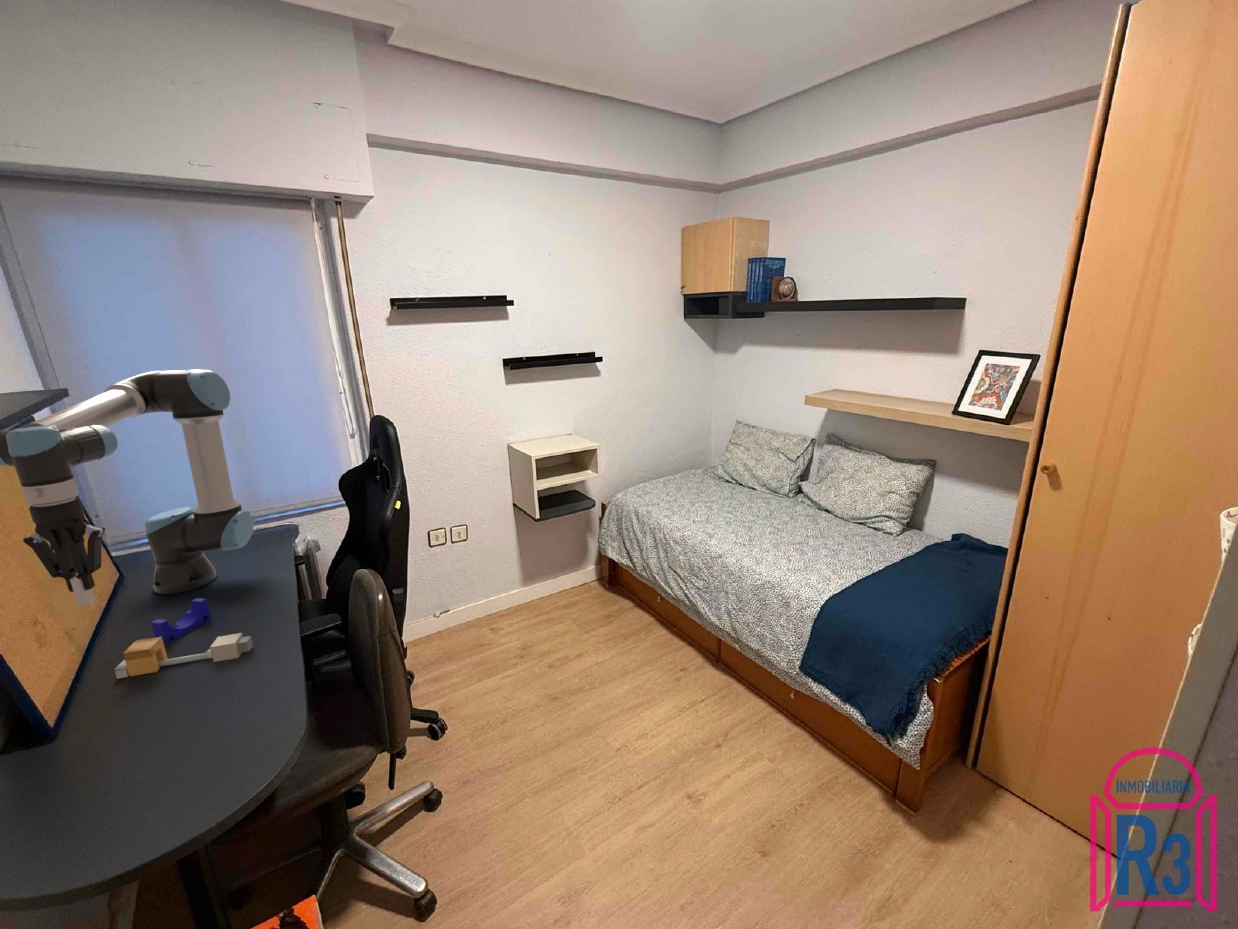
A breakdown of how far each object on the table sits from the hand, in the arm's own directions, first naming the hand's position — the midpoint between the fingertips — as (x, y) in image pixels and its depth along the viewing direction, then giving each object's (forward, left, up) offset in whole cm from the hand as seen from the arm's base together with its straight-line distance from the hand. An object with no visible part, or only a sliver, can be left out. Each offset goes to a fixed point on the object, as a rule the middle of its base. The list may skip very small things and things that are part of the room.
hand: (87, 603), depth 116 cm
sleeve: (0, +8, -18) cm, 20 cm away
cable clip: (-17, +7, -19) cm, 26 cm away
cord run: (0, +15, -18) cm, 24 cm away
